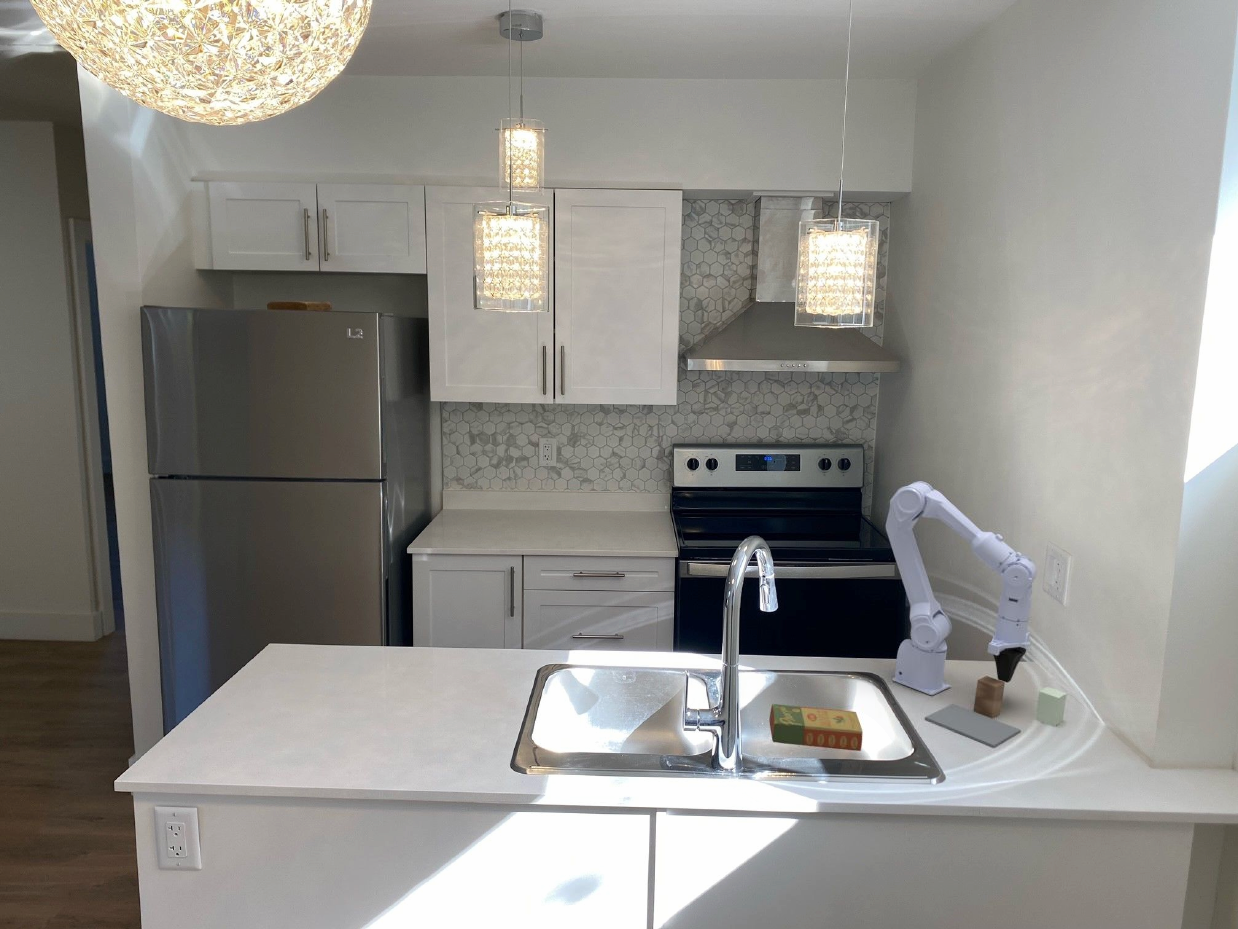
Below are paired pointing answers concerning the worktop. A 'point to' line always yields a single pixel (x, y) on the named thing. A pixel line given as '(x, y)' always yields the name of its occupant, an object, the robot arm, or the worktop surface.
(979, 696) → the walnut block
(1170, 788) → the worktop surface
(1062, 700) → the sage block
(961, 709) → the mat
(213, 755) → the worktop surface
